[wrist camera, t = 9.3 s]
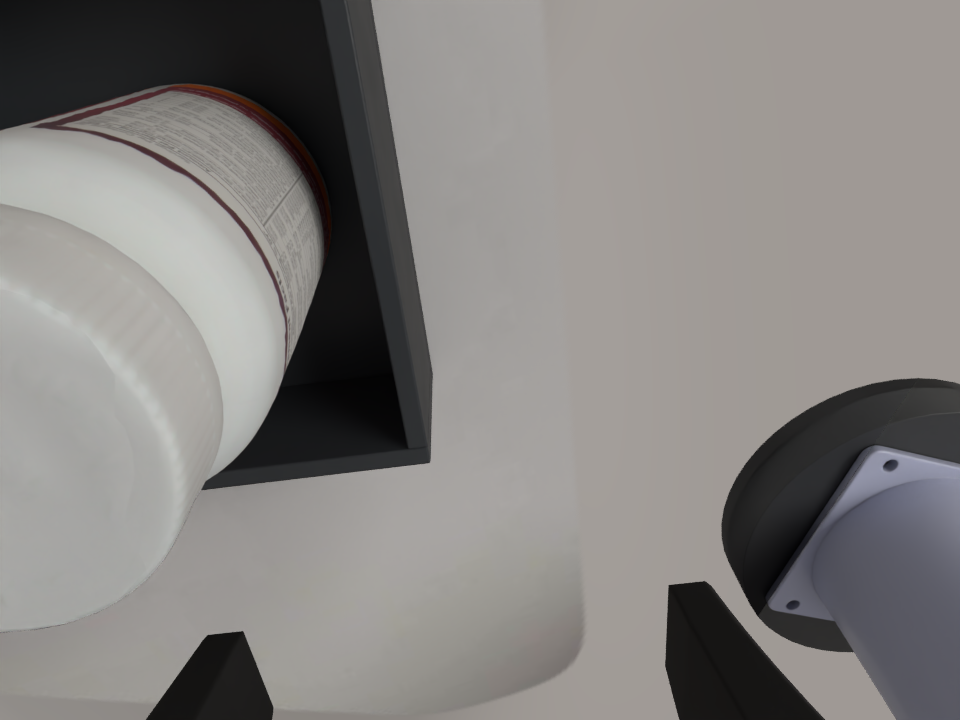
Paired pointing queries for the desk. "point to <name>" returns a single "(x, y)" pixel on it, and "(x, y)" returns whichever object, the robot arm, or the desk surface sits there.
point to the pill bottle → (139, 327)
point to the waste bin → (345, 169)
